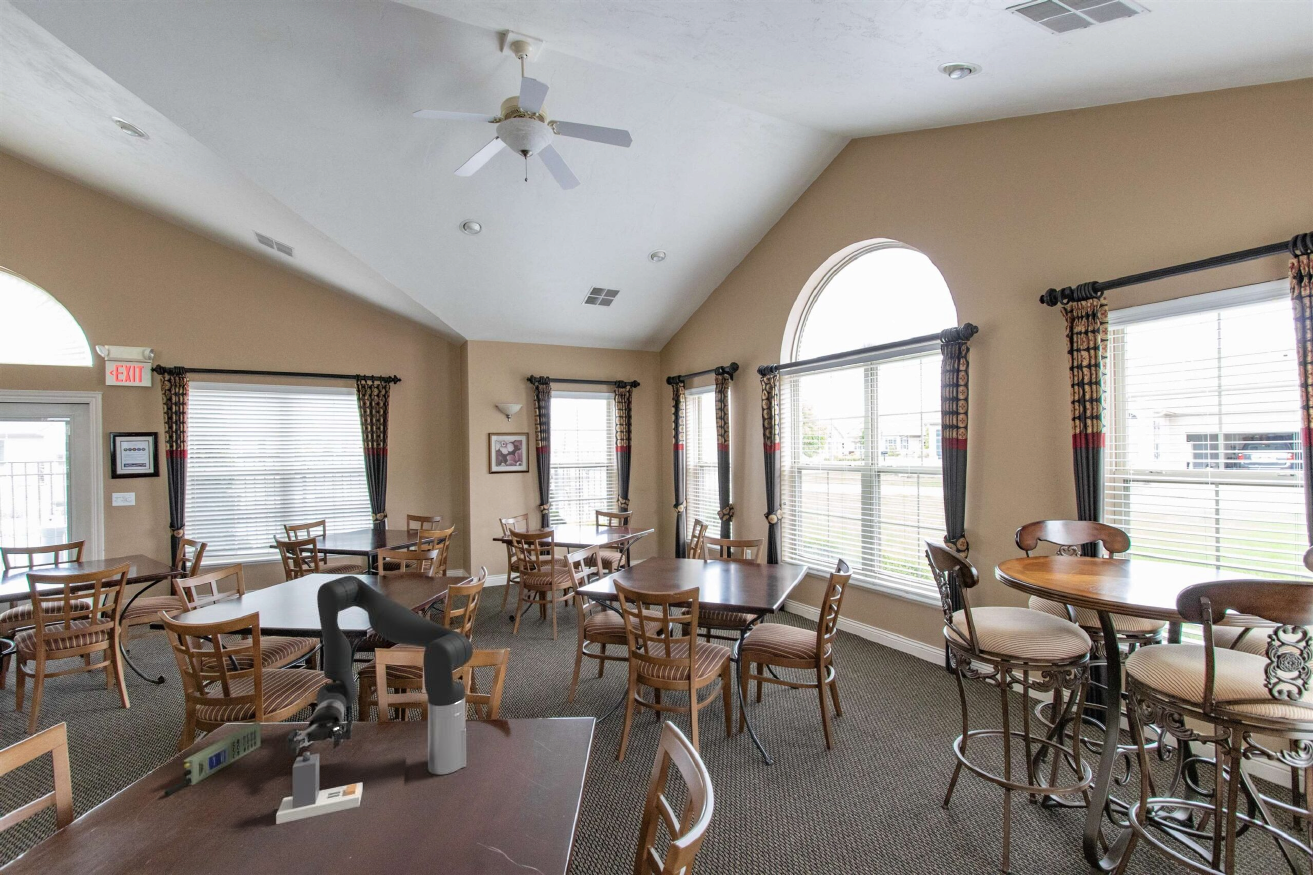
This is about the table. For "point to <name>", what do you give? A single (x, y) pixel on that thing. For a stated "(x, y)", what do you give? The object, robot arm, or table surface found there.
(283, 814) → the power strip
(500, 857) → the table surface
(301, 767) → the charger
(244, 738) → the handheld radio
